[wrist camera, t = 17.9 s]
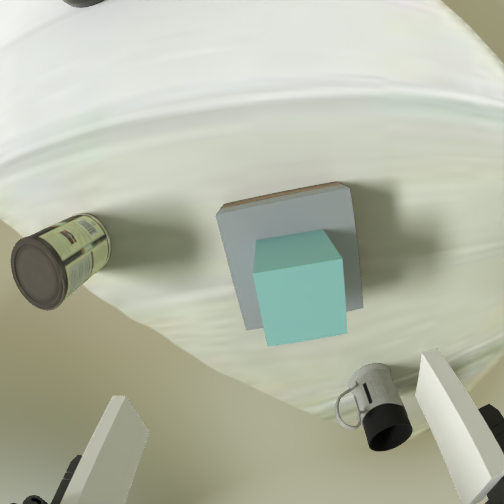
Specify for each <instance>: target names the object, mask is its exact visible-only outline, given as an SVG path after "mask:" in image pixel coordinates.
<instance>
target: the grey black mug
mask: <svg viewBox="0 0 504 504" xmlns="http://www.w3.org/2000/svg"><path fill="white" fill-rule="evenodd" d="M348 387H349V389H348V390H347V391H345V392H344V393H342V394H341V395H340V396H339V397H338V399H337V402H336V405H335V414H336V418H337V421H338V422H339V424H340V425H341V426H343V427H344V428H347V429H350V430H354V429H357V428H358V427H359V426H360V425H361V423H362V426H363V428H364V430H365V433H366V437H367V440H368V444H369V447H370V449H372V450H374V451H386V450H390V449H393V448H395V447H397V446H399V445H401V444H402V443H404V442H405V441H406V440H407V439H408V438H409V437H410V436H411V434H412V426H411V424H410V421H409V419H408V415H407V412H406V410H405V407H404V405H403V403H402V400H401V398H400V396H399V394H398V392H397V389H396V387H395V385H394V383H393V381H392V379H391V371H390V369H389V367H388V366H386V365H384V364H381V363H373V364H369V365H366V366H363V367H362V368H360V369H358V370H357V371H356V372H355V373H354V374H353V375H352V376H351V378H350V380H349V383H348ZM350 391H351V393H353V396H354V399H355V402H356V406H357V409H358V413H357V420H358V424H357V426H350V425H348V424H346V423H344V422H343V421H342V419H341V417H340V415H339V408H338V407H339V401H340V399H341V397H342V396H344V395H345V394H347V393H349V392H350Z"/></svg>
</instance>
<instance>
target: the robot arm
mask: <svg viewBox="0 0 504 504" xmlns="http://www.w3.org/2000/svg"><path fill="white" fill-rule="evenodd" d="M63 1H64V2H66V3H67V4H69V5H71V6H73V7H88V6H91V5H94V4H97V3H99V2H101V1H103V0H63ZM415 397H416V399H417V401H418V403H419V405H420V407H421V409H422V411H423V413H424V416H425V418H426V420H427V422H428V424H429V426H430V429H431V431H432V433H433V435H434V437H435V439H436V442H437V444H438V446H439V449H440V451H441V453H442V456H443V458H444V460H445V463H446V465H447V468H448V470H449V472H450V475H451V477H452V480H453V482H454V485H455V488H456V490H457V493H458V495H459V498H460V501H461V503H462V504H476V503H478V502H480V501H481V500H482V499H483V498H484V497H485V496H486V495H487V497H488V499H489V500H488V501H487V502H486V503H485V504H504V418H503V416H502V415H501V413H500V412H499V411H498V410H497V409H496V408H494V407H493V406H492V405H490V404H488V405H486V406H484V407H482V408H480V409H477V407H476V405H475V404H474V402H473V401H472V399H471V397H470V396H469V394H468V393H467V391H466V390H465V388H464V386H463V385H462V383H461V382H460V380H459V379H458V377H457V376H456V374H455V373H454V371H453V370H452V368H451V367H450V365H449V364H448V363H447V361H446V360H445V358H444V357H443V355H442V354H441V352H440V351H439V350H438V348H436V349H433V350H430V351H426V352H423V353H422V357H421V364H420V371H419V377H418V383H417V388H416V394H415ZM148 435H149V430H148V429H147V428H146V426H145V425H144V423H143V422H142V420H141V419H140V417H139V416H138V414H137V413H136V411H135V410H134V408H133V407H132V405H131V403H130V402H129V400H128V399H127V397H126V396H113V397H112V398H111V400H110V402H109V404H108V406H107V408H106V410H105V412H104V414H103V416H102V418H101V420H100V422H99V424H98V425H97V427H96V429H95V431H94V434H93V436H92V437H91V440H90V442H89V443H88V446H87V448H86V450H85V452H84V454H83V456H81V455H77V457H75V458H74V459H73V460H72V461H71V463H70V465H69V467H68V469H67V473H65V475H64V477H63V478H64V479H63V480H62V481H61V483H60V486H59V488H58V490H57V492H56V494H55V496H54V498H53V500H52V502H51V504H125V502H126V500H127V496H128V493H129V490H130V487H131V484H132V481H133V478H134V475H135V473H136V470H137V467H138V464H139V461H140V458H141V455H142V452H143V449H144V446H145V443H146V441H147V438H148ZM12 504H16V503H12ZM23 504H48V503H47V502H45V501H44V500H43V499H42V498H40V497H39V496H36V495H32V496H29V497H27V498H26V499H25V500H24V502H23Z"/></svg>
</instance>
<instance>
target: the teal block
mask: <svg viewBox="0 0 504 504" xmlns="http://www.w3.org/2000/svg"><path fill="white" fill-rule="evenodd" d="M252 274H253V278H254V283H255V288H256V293H257V298H258V303H259V307H260V312H261V317H262V322H263V327H264V332H265V336H266V341H267V346H274V345H281V344H288V343H294V342H301V341H307V340H313V339H319V338H325V337H330V336H336V335H341V334H346V333H347V319H346V301H345V286H344V272H343V260H342V257H341V256H340V254H339V253H338V251H337V250H336V248H335V247H334V245H333V244H332V242H331V240H330V239H329V237H328V236H327V234H326V233H325V231H324V230H323V229H321V230H315V231H309V232H303V233H297V234H291V235H285V236H279V237H273V238H267V239H261V240H256V247H255V256H254V265H253V273H252Z"/></svg>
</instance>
